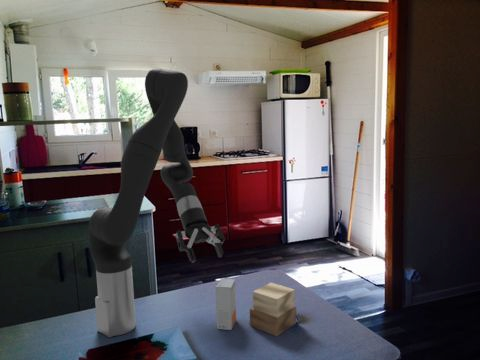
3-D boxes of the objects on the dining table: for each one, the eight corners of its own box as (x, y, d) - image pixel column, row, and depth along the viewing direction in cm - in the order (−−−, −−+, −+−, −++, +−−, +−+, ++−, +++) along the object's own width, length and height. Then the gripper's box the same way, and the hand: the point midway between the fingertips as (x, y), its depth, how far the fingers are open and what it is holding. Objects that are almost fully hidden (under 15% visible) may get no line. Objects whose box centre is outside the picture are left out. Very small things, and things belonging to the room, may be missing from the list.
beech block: (277, 317, 106) (276, 299, 106) (253, 309, 112) (252, 291, 111) (294, 306, 112) (294, 289, 112) (271, 299, 118) (271, 282, 117)
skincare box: (232, 330, 110) (230, 287, 108) (216, 329, 111) (215, 286, 109) (236, 319, 116) (235, 279, 114) (222, 318, 117) (220, 278, 115)
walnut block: (276, 337, 107) (276, 318, 106) (250, 326, 113) (249, 308, 112) (296, 323, 113) (296, 306, 113) (270, 314, 119) (270, 297, 118)
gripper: (172, 209, 123) (188, 257, 115) (215, 203, 130) (233, 248, 122) (167, 223, 129) (182, 269, 120) (209, 217, 135) (225, 260, 127)
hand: (207, 258), depth 121 cm, fingers open, 8 cm apart
